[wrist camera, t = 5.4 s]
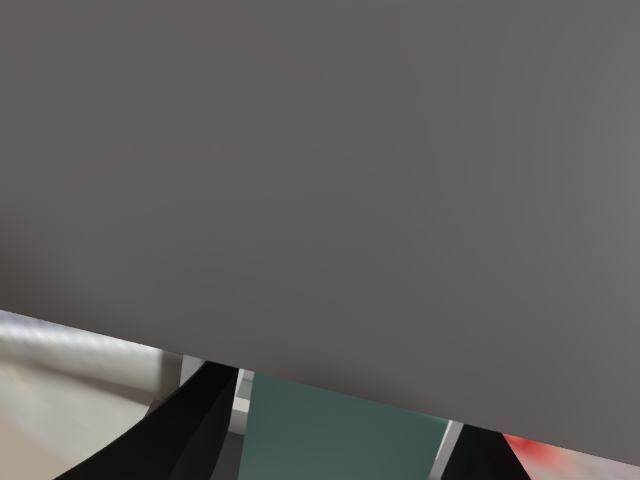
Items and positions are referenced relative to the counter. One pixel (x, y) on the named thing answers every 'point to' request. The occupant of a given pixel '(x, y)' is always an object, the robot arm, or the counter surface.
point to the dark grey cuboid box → (341, 196)
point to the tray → (231, 451)
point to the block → (333, 436)
